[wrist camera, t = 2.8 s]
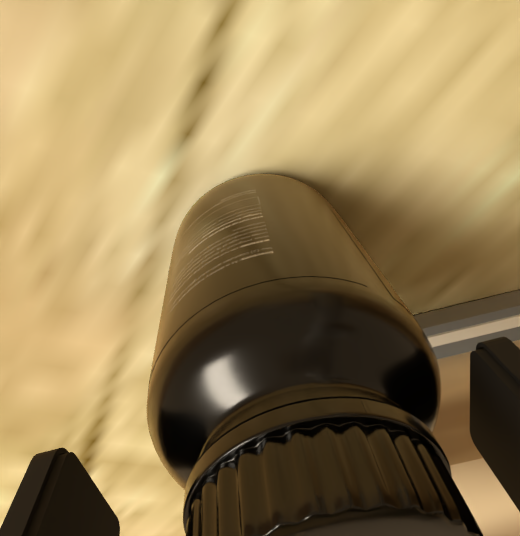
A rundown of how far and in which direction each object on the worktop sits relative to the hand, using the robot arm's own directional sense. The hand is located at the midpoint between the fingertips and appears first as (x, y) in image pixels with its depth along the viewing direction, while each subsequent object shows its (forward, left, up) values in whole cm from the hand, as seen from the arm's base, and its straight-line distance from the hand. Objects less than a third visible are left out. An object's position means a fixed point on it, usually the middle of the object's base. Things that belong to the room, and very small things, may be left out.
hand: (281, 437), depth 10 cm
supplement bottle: (-1, 0, -9) cm, 9 cm away
